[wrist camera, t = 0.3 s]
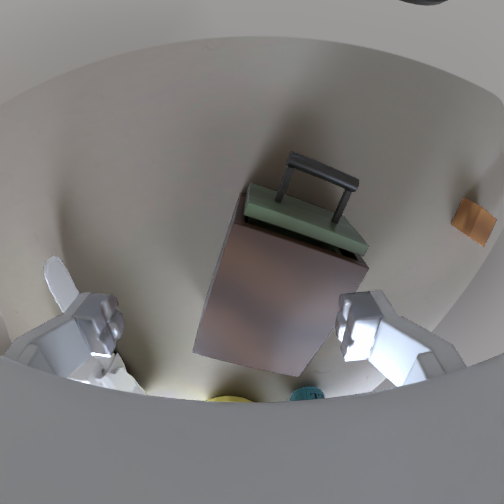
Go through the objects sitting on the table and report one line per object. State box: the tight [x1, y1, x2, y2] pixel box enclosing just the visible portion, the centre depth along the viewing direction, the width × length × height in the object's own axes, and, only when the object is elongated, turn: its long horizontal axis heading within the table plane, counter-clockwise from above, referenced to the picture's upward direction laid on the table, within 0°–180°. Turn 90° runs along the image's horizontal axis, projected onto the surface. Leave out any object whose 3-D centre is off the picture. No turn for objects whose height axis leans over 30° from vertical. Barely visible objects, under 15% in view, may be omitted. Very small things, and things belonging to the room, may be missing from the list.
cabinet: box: [192, 193, 369, 377], centre depth 30 cm, size 16×13×10 cm
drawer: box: [244, 151, 369, 256], centre depth 28 cm, size 20×12×8 cm, turn 161°
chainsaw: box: [43, 256, 148, 395], centre depth 37 cm, size 15×35×12 cm, turn 13°
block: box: [451, 197, 497, 247], centre depth 29 cm, size 4×4×4 cm
